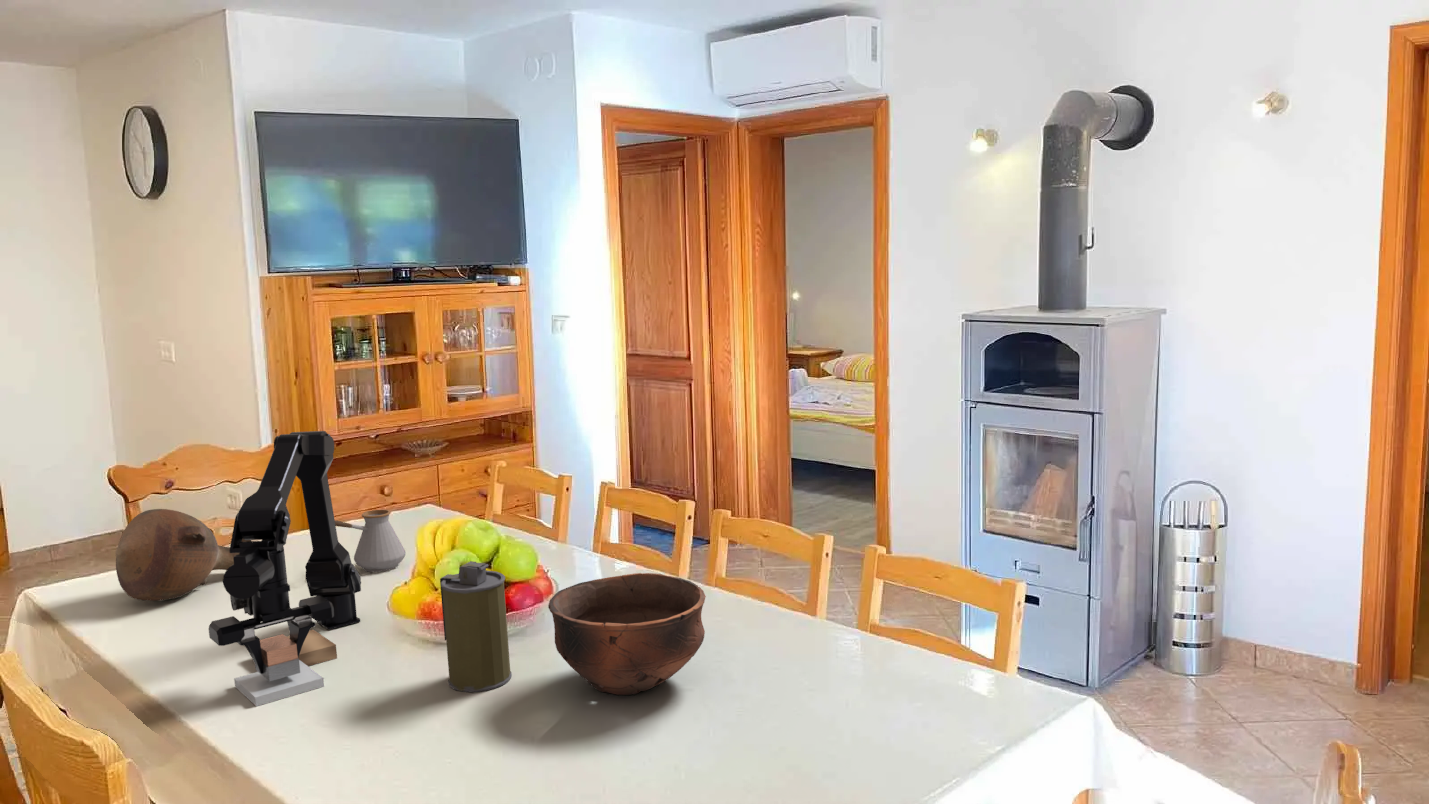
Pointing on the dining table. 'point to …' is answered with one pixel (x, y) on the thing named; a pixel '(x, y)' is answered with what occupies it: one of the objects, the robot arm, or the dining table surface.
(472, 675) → the canister
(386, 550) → the coffee pot
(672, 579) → the bowl
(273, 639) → the housing
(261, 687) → the ceramic tile
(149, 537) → the jug
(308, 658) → the walnut plinth
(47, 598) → the dining table surface
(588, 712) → the dining table surface
